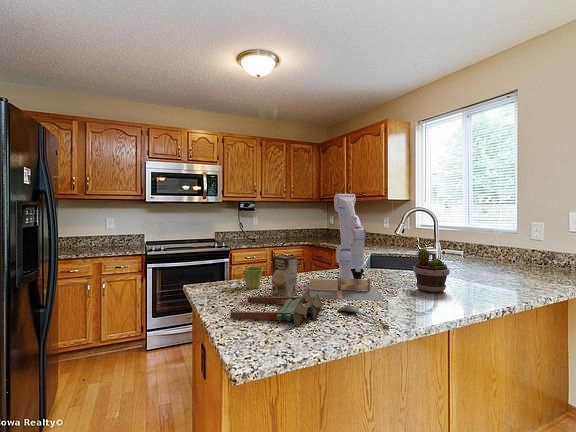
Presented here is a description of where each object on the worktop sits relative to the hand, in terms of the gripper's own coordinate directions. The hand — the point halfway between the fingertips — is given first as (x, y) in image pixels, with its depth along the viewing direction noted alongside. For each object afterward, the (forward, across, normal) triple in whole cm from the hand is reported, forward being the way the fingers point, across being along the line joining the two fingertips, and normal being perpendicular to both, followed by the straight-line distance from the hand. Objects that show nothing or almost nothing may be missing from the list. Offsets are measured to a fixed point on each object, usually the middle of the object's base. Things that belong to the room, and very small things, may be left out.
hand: (357, 284), depth 143 cm
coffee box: (+2, -15, +31) cm, 34 cm away
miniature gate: (+3, -37, +28) cm, 46 cm away
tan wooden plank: (+1, -5, +1) cm, 5 cm away
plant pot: (+2, -5, +47) cm, 47 cm away
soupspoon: (+3, -38, 0) cm, 38 cm away
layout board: (+2, -8, +7) cm, 11 cm away
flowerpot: (+2, +2, -32) cm, 32 cm away
